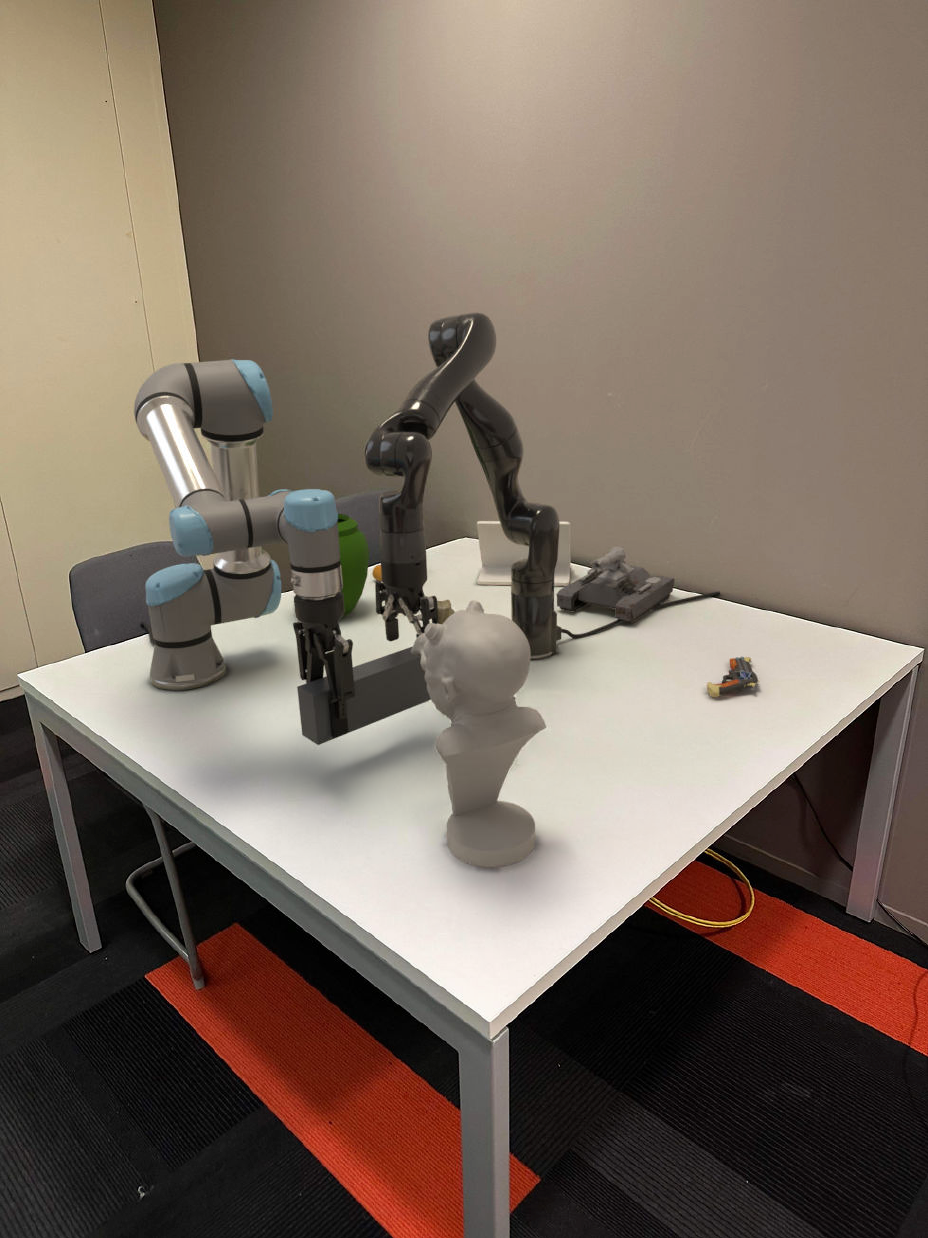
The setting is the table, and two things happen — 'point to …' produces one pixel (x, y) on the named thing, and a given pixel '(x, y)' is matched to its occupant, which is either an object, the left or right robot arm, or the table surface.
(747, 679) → the toy gun
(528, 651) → the bust sculpture
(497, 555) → the tablet stand
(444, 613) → the sculpture
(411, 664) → the bar
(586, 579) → the toy
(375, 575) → the spray gun
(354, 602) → the vase
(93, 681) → the table surface
